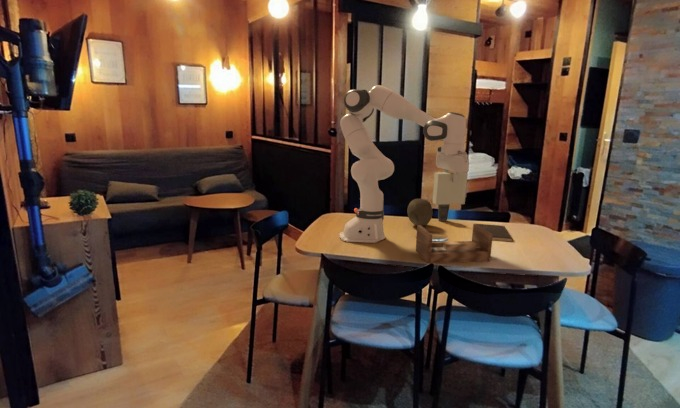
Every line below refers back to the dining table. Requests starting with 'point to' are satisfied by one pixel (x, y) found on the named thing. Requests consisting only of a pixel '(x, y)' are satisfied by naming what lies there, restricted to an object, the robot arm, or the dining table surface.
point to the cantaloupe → (420, 212)
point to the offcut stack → (456, 247)
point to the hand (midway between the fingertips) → (450, 180)
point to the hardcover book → (497, 232)
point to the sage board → (449, 188)
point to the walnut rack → (478, 255)
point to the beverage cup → (443, 212)
